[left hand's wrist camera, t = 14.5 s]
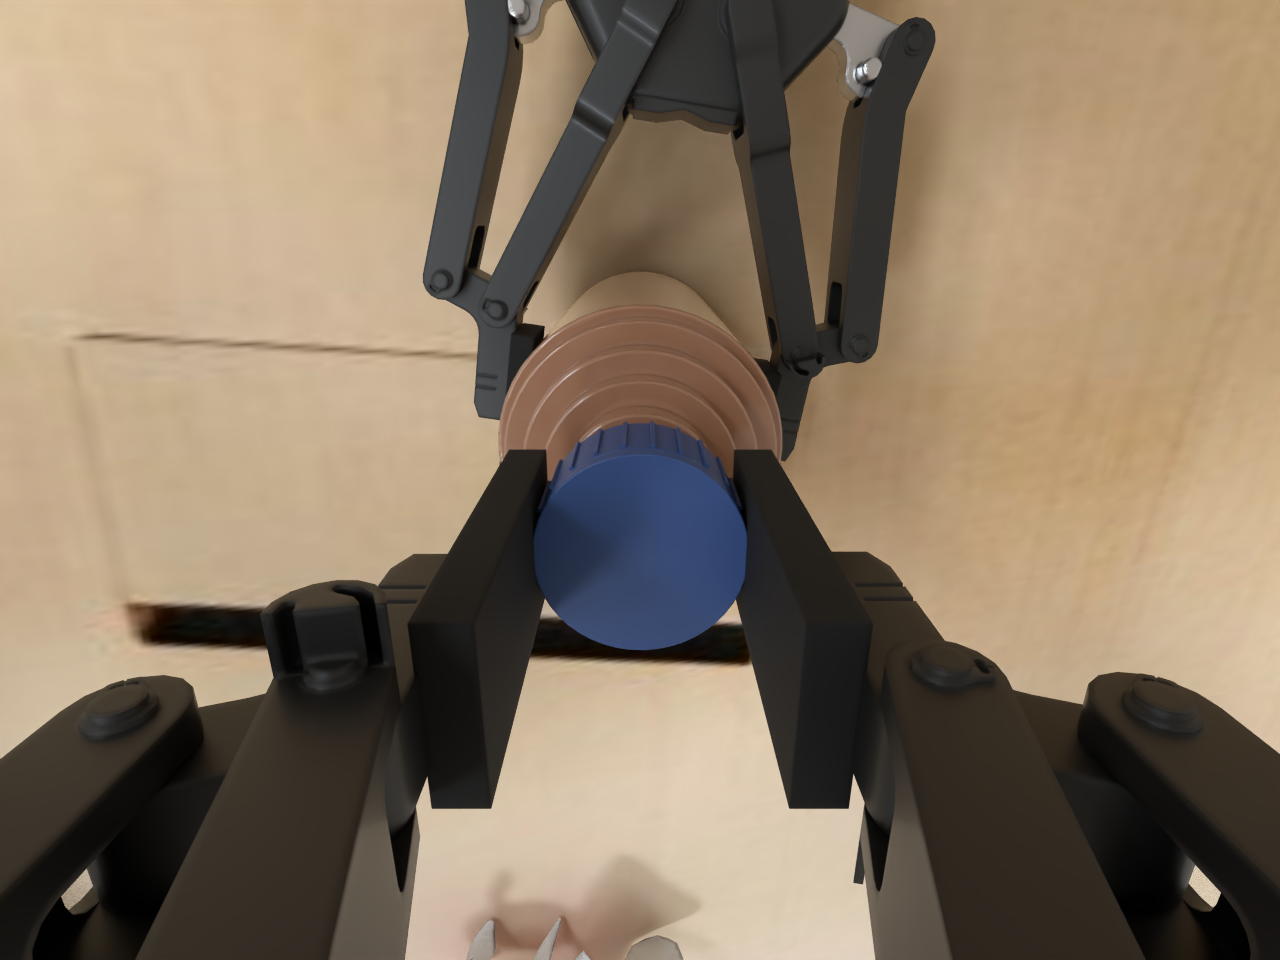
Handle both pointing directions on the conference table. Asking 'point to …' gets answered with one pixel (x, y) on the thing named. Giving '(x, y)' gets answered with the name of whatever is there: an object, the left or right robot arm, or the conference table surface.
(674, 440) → the cap
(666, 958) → the fish
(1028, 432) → the conference table surface
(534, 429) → the bottle
